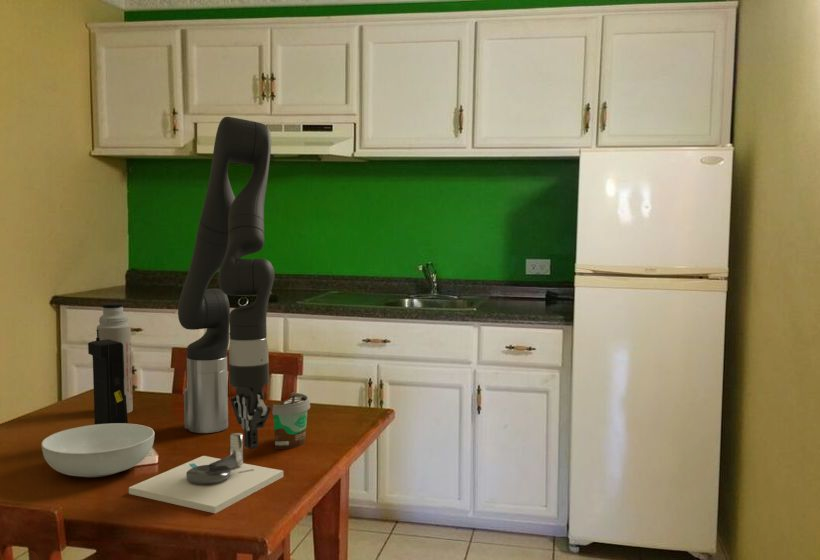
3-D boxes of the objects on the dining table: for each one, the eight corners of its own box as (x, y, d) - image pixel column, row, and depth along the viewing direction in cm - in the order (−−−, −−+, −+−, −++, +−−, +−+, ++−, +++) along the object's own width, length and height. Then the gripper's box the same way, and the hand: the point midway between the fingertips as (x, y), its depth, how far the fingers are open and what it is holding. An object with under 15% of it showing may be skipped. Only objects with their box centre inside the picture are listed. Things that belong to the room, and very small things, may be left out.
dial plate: (128, 493, 137) (128, 486, 137) (203, 461, 155) (203, 455, 155) (215, 513, 129) (215, 506, 128) (283, 476, 146) (283, 470, 146)
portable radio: (133, 442, 167) (130, 331, 165) (106, 448, 163) (103, 334, 160) (116, 435, 172) (113, 327, 170) (90, 441, 168) (87, 330, 166)
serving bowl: (175, 457, 158) (174, 425, 157) (114, 493, 137) (113, 457, 137) (88, 449, 162) (87, 418, 162) (17, 483, 142) (15, 448, 141)
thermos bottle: (137, 407, 197) (134, 301, 194) (125, 415, 189) (122, 305, 186) (107, 407, 197) (104, 301, 194) (94, 415, 189) (90, 305, 186)
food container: (299, 452, 161) (299, 407, 160) (272, 450, 162) (272, 405, 162) (317, 435, 173) (317, 393, 172) (292, 434, 174) (292, 391, 174)
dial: (209, 487, 136) (209, 455, 136) (177, 479, 140) (176, 448, 139) (256, 465, 148) (256, 436, 147) (225, 459, 152) (224, 430, 151)
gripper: (282, 363, 144) (284, 452, 145) (250, 354, 154) (252, 437, 155) (247, 368, 139) (249, 459, 140) (216, 358, 149) (218, 444, 150)
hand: (251, 447), depth 148 cm, fingers closed
